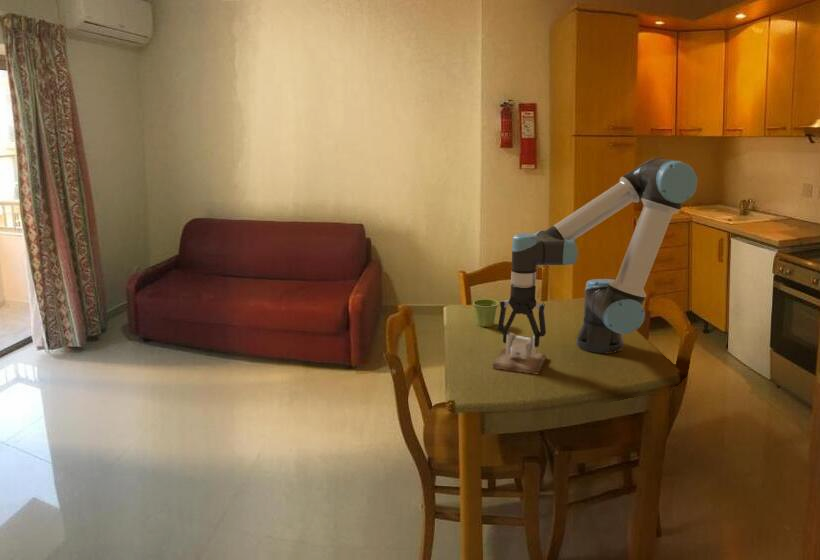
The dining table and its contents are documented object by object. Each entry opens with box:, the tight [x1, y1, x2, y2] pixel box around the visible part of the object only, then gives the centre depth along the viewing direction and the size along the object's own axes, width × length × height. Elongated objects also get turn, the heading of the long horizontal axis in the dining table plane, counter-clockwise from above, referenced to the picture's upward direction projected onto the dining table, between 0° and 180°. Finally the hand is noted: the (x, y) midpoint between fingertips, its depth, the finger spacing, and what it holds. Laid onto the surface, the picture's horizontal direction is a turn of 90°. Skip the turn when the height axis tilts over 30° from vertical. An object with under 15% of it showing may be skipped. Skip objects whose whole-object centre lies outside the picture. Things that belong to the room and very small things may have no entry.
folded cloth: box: [492, 348, 547, 374], centre depth 199 cm, size 14×14×2 cm
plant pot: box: [472, 298, 500, 328], centre depth 235 cm, size 9×9×9 cm
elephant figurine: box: [507, 332, 534, 359], centre depth 198 cm, size 8×10×7 cm
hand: (520, 354), depth 199 cm, fingers closed on elephant figurine, 7 cm apart
